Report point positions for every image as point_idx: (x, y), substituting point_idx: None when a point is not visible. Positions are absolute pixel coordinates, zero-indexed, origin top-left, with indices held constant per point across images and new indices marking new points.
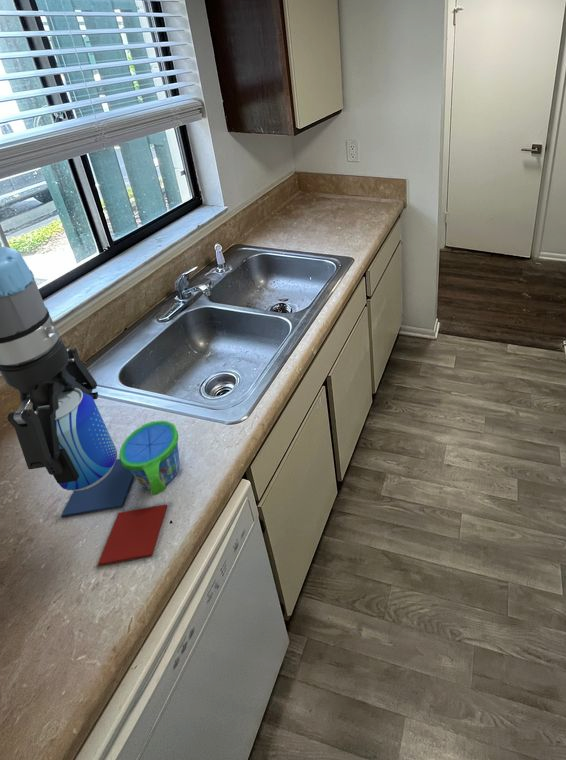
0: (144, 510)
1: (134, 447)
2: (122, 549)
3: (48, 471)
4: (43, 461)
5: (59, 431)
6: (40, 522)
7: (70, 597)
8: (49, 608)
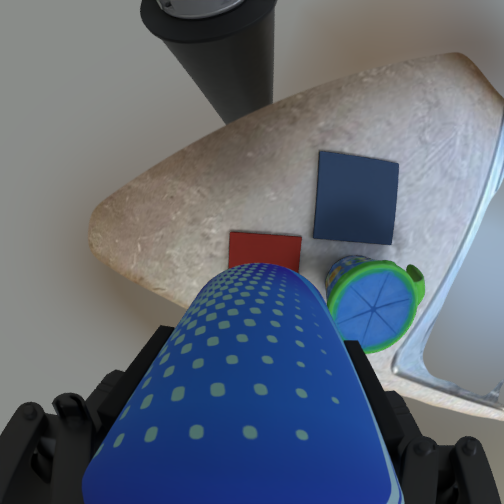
0: None
1: (377, 285)
2: (242, 260)
3: (101, 383)
4: (34, 457)
5: None
6: (318, 123)
7: (199, 209)
8: (192, 187)
